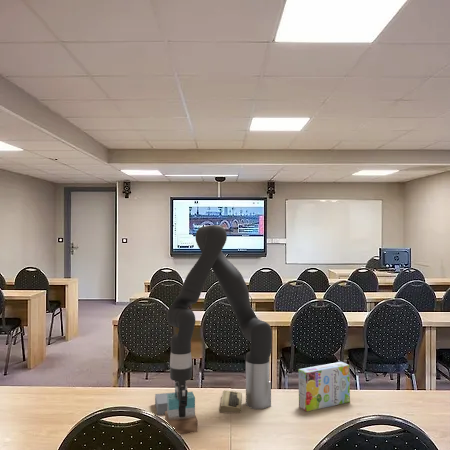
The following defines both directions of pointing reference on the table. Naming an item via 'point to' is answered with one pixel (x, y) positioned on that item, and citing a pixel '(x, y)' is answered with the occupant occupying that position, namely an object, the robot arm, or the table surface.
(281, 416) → the table surface
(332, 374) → the snack box
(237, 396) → the computer
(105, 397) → the table surface
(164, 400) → the stand
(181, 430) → the stand
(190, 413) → the housing
